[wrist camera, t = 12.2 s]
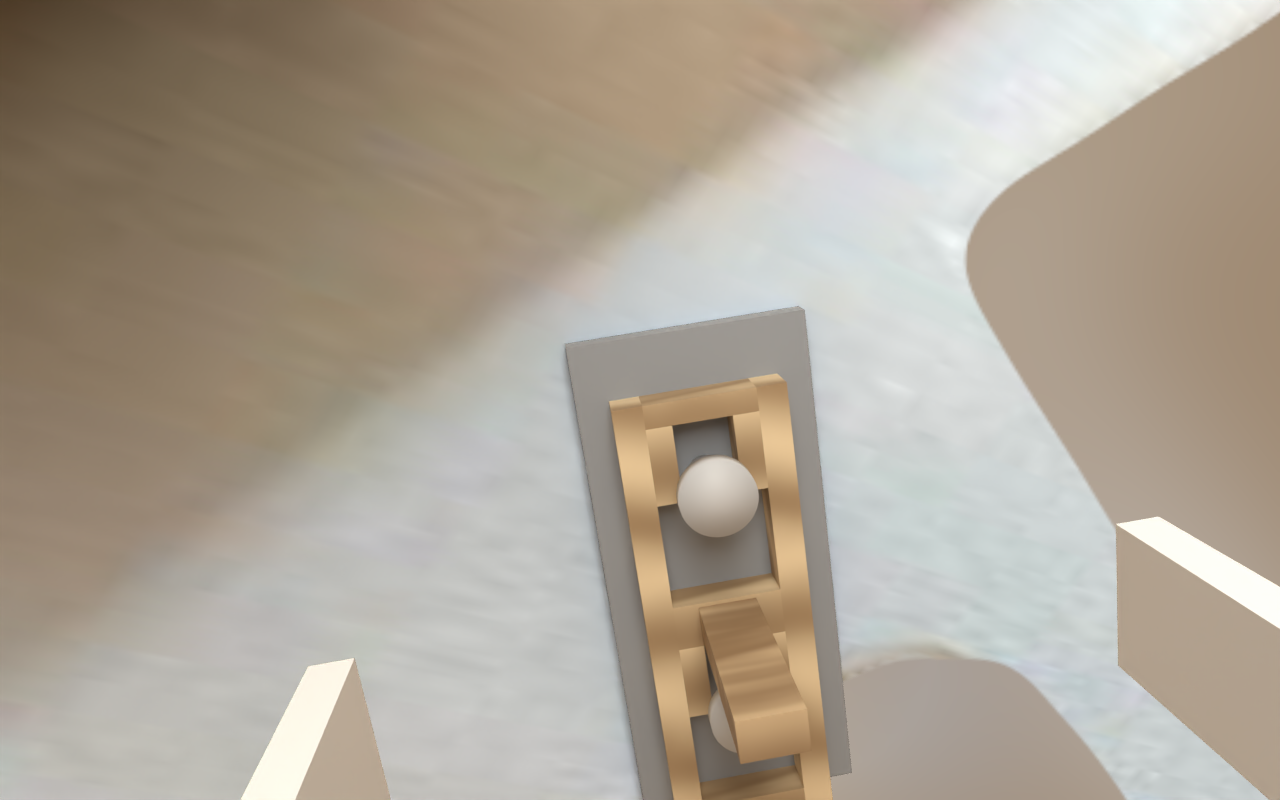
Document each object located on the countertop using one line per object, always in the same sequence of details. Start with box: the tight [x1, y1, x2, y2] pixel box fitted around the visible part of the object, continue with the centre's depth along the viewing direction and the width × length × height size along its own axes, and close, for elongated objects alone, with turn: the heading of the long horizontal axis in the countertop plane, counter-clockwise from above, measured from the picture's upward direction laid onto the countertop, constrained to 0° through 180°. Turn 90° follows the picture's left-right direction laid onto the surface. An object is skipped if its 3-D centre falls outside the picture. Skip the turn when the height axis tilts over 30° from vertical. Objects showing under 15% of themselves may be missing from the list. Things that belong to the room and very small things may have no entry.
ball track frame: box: [609, 374, 833, 800], centre depth 43 cm, size 24×9×12 cm, turn 8°
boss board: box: [565, 306, 852, 800], centre depth 47 cm, size 27×12×5 cm, turn 8°
